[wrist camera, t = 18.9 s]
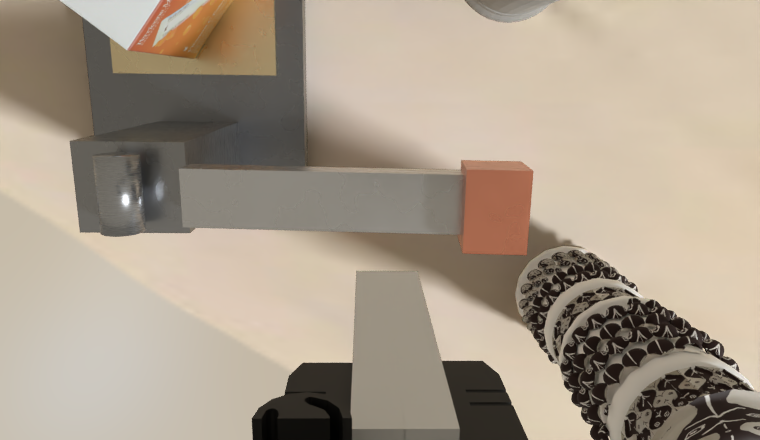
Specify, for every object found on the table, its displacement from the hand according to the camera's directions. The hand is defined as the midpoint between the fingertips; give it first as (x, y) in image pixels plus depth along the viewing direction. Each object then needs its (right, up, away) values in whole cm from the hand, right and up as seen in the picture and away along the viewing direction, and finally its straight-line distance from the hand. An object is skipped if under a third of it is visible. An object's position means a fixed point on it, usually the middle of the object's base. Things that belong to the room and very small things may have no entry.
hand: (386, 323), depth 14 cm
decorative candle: (+16, -4, +37) cm, 40 cm away
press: (-14, +15, +31) cm, 37 cm away
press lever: (-4, +4, +16) cm, 17 cm away
